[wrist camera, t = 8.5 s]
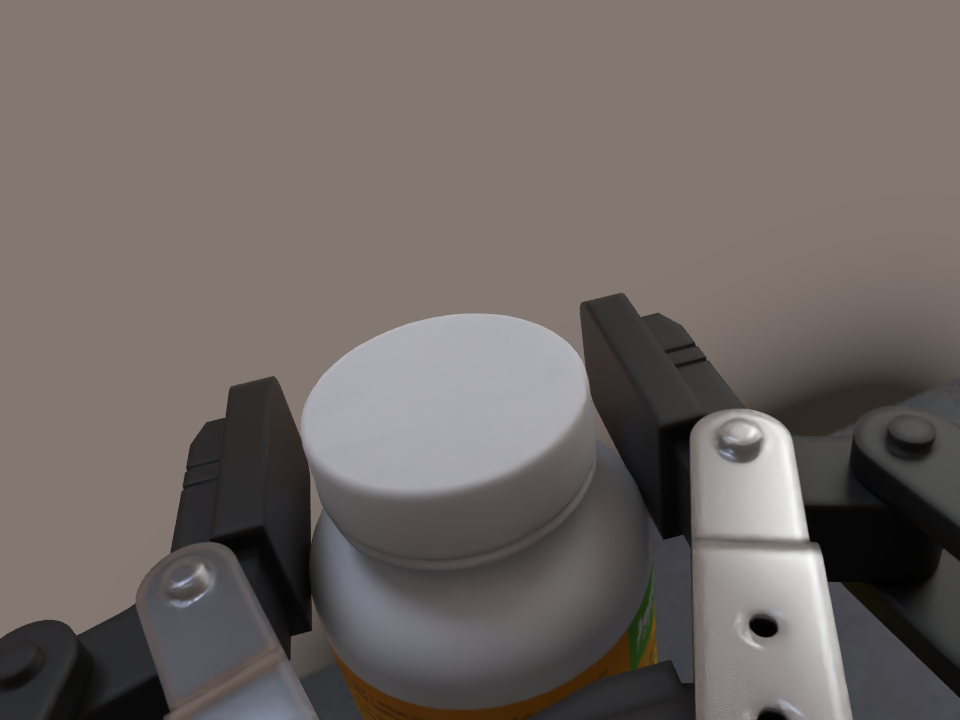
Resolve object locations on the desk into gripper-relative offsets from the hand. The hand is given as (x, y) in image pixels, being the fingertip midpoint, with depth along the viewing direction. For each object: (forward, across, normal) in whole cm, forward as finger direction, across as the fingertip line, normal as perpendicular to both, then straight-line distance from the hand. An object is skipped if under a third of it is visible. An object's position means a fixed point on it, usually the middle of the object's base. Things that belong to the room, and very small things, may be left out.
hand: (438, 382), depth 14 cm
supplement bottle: (-3, 0, +8) cm, 9 cm away
